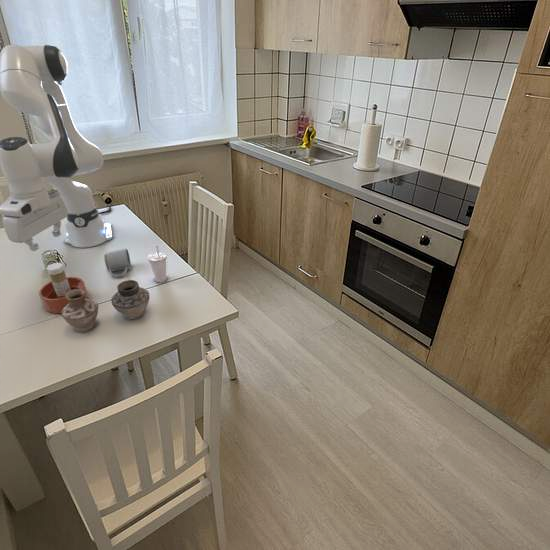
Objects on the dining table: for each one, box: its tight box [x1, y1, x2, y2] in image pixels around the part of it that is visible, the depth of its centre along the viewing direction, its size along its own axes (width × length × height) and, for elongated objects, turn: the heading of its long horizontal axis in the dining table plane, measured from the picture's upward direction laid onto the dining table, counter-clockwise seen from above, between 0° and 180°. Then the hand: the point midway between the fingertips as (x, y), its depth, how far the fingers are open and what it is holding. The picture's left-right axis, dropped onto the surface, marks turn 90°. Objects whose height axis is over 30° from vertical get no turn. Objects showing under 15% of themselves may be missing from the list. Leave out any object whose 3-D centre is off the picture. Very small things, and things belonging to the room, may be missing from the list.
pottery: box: [61, 279, 150, 333], centre depth 119 cm, size 11×25×12 cm, turn 117°
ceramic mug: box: [103, 248, 132, 279], centre depth 144 cm, size 11×8×8 cm
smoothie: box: [147, 244, 168, 283], centre depth 138 cm, size 6×6×14 cm
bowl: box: [38, 276, 89, 314], centre depth 128 cm, size 13×13×6 cm
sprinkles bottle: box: [46, 262, 71, 299], centre depth 126 cm, size 5×5×14 cm
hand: (46, 242), depth 118 cm, fingers open, 8 cm apart
